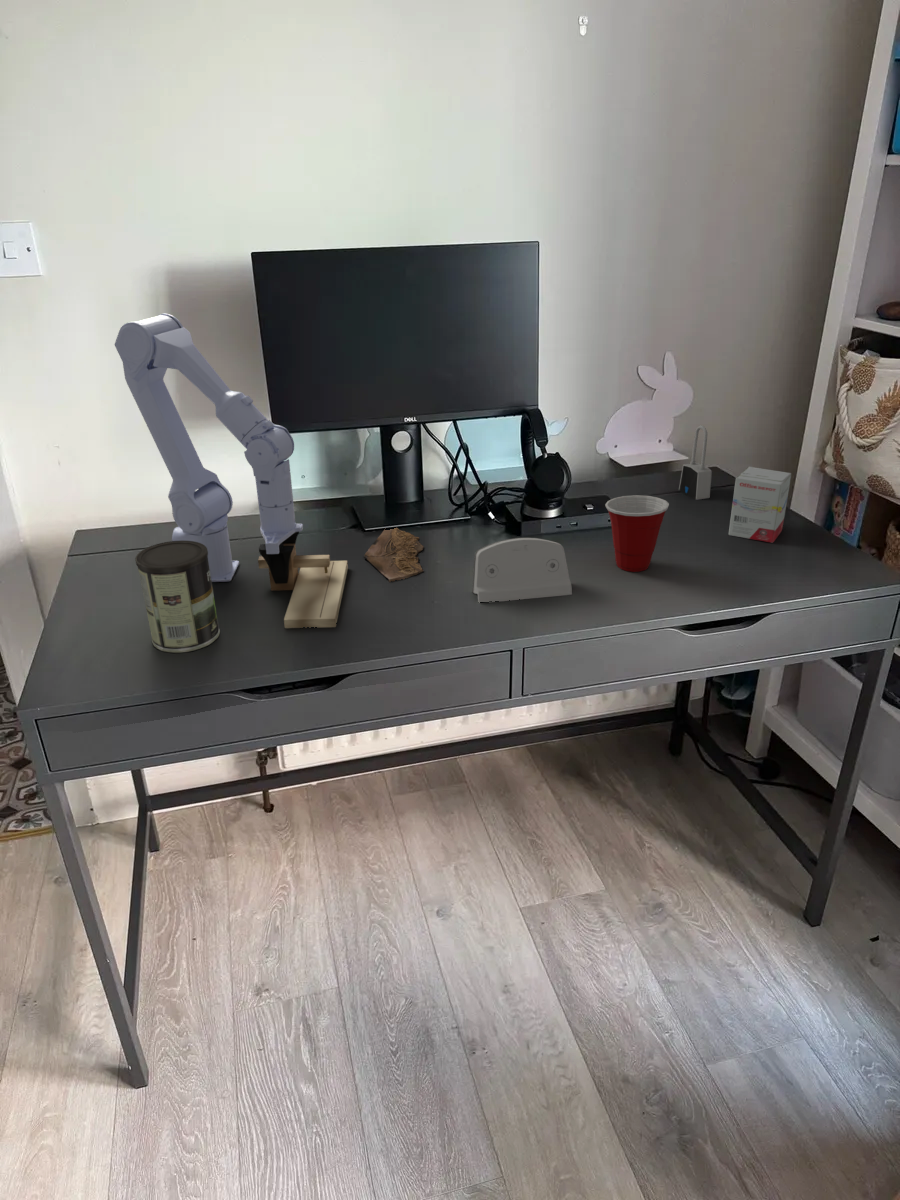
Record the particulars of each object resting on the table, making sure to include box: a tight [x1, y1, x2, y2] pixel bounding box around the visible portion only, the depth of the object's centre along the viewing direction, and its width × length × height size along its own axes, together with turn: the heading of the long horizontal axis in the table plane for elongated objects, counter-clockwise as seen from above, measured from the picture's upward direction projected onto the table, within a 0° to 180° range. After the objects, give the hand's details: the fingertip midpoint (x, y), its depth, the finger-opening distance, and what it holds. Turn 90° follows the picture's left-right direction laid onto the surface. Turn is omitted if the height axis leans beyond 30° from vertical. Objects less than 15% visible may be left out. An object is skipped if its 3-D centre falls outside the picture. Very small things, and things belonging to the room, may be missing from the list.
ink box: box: [728, 466, 792, 544], centre depth 165 cm, size 9×9×12 cm
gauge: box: [257, 544, 331, 591], centre depth 149 cm, size 12×5×7 cm, turn 91°
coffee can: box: [134, 540, 221, 654], centre depth 131 cm, size 10×10×14 cm
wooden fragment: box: [363, 527, 424, 583], centre depth 162 cm, size 26×11×1 cm, turn 2°
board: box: [283, 560, 349, 629], centre depth 145 cm, size 8×22×2 cm, turn 1°
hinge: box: [471, 537, 573, 604], centre depth 146 cm, size 17×5×10 cm, turn 100°
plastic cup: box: [604, 494, 670, 573], centre depth 153 cm, size 11×11×12 cm
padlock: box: [678, 425, 713, 501], centre depth 184 cm, size 7×4×15 cm, turn 20°
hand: (284, 575), depth 149 cm, fingers closed on gauge, 5 cm apart
